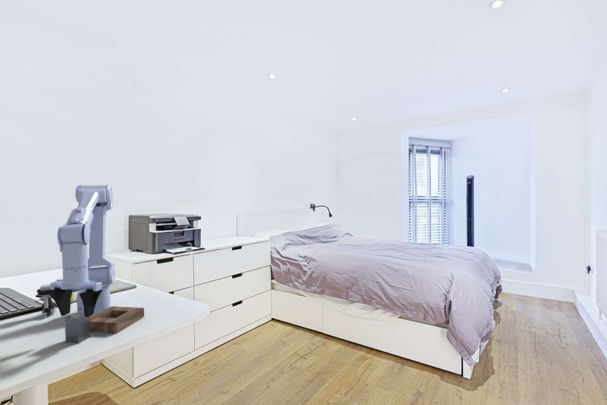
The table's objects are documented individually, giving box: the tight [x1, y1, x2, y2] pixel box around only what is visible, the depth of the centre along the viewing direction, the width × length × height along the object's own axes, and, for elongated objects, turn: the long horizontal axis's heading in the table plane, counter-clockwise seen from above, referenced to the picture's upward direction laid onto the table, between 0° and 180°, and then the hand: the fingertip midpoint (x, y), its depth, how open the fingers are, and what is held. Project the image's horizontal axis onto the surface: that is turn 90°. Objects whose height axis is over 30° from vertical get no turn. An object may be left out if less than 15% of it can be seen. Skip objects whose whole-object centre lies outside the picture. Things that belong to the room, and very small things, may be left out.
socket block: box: [90, 305, 145, 334], centre depth 97 cm, size 12×12×3 cm
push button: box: [36, 283, 56, 319], centre depth 105 cm, size 7×5×10 cm
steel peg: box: [64, 311, 92, 344], centre depth 87 cm, size 4×4×7 cm
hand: (77, 315), depth 87 cm, fingers open, 7 cm apart
